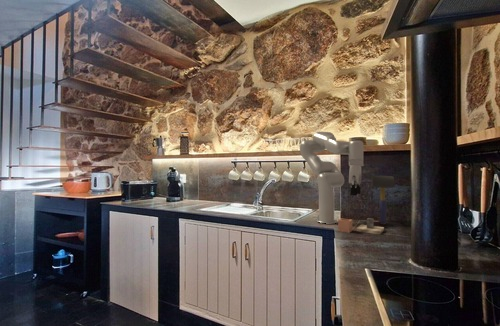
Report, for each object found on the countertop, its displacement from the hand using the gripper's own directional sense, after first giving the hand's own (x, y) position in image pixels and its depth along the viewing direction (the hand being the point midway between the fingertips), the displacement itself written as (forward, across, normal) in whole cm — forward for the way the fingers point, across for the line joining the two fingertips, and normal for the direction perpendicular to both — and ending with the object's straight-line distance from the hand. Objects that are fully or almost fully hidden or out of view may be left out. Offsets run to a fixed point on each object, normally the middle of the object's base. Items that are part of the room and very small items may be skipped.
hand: (355, 194), depth 143 cm
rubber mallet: (+20, -29, +11) cm, 37 cm away
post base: (+20, -6, +7) cm, 22 cm away
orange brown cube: (+20, +3, -5) cm, 21 cm away
